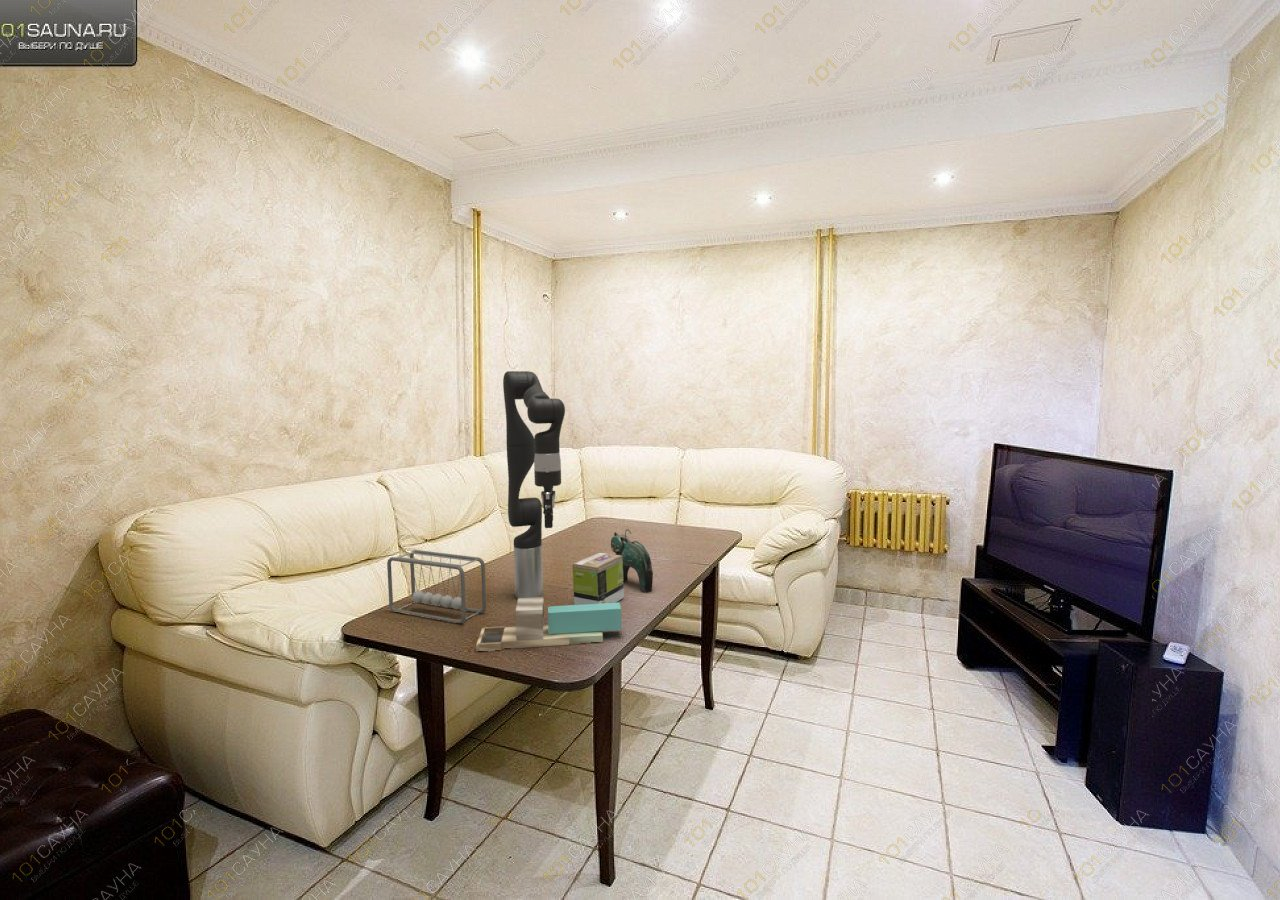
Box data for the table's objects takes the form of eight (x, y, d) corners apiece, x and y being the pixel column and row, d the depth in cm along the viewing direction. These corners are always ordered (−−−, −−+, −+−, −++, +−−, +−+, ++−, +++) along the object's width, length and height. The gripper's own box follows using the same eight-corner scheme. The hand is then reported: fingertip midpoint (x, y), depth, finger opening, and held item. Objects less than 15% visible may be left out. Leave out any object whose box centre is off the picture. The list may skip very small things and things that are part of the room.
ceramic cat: (609, 580, 213) (608, 526, 211) (624, 577, 217) (623, 524, 215) (643, 594, 197) (642, 536, 195) (657, 590, 201) (657, 533, 199)
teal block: (548, 627, 164) (548, 606, 163) (619, 622, 167) (619, 602, 166) (548, 634, 159) (547, 613, 158) (621, 629, 162) (621, 608, 161)
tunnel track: (482, 634, 165) (481, 599, 164) (600, 626, 169) (599, 592, 168) (476, 652, 153) (475, 614, 152) (603, 643, 158) (602, 607, 157)
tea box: (599, 593, 198) (599, 551, 197) (624, 598, 193) (624, 555, 192) (572, 607, 186) (571, 562, 184) (598, 613, 180) (597, 566, 179)
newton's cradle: (487, 613, 181) (485, 557, 180) (464, 626, 172) (462, 566, 170) (413, 601, 193) (411, 548, 192) (388, 612, 184) (385, 556, 182)
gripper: (535, 466, 173) (536, 520, 174) (533, 472, 159) (534, 530, 160) (560, 465, 174) (562, 519, 175) (560, 471, 160) (562, 529, 161)
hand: (549, 524), depth 168 cm, fingers open, 8 cm apart
